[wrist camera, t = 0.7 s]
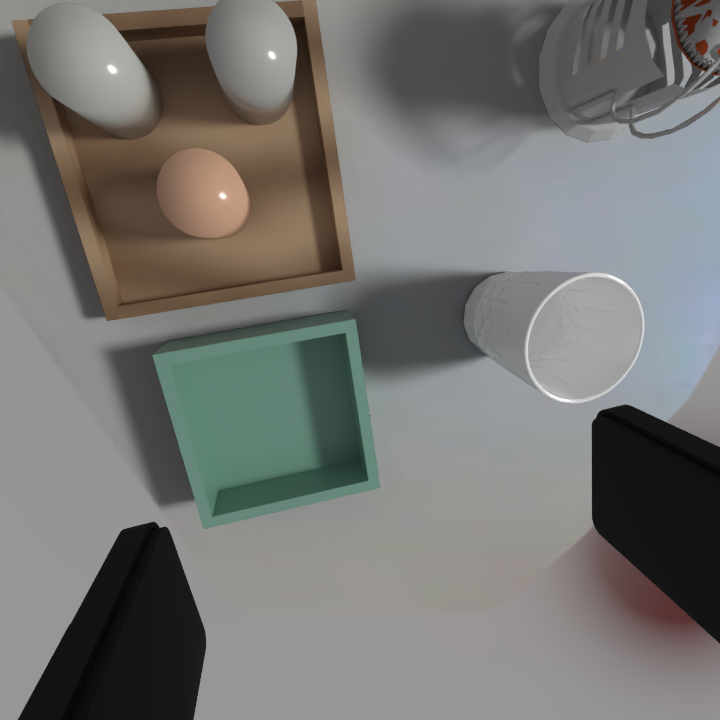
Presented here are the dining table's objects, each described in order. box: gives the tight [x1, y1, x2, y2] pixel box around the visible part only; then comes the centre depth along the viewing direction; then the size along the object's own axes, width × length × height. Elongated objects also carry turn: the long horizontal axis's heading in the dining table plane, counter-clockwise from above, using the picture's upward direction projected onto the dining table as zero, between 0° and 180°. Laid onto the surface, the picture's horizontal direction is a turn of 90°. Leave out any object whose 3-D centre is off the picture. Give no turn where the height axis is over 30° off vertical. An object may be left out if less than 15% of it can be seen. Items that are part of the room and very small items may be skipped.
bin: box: [152, 310, 380, 529], centre depth 31 cm, size 13×13×4 cm
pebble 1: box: [27, 3, 163, 140], centre depth 23 cm, size 4×4×6 cm
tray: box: [11, 0, 356, 321], centre depth 27 cm, size 16×16×2 cm
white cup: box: [463, 271, 644, 403], centre depth 30 cm, size 8×8×10 cm
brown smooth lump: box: [157, 148, 252, 239], centre depth 25 cm, size 4×4×6 cm
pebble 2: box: [205, 0, 297, 125], centre depth 24 cm, size 4×4×6 cm
